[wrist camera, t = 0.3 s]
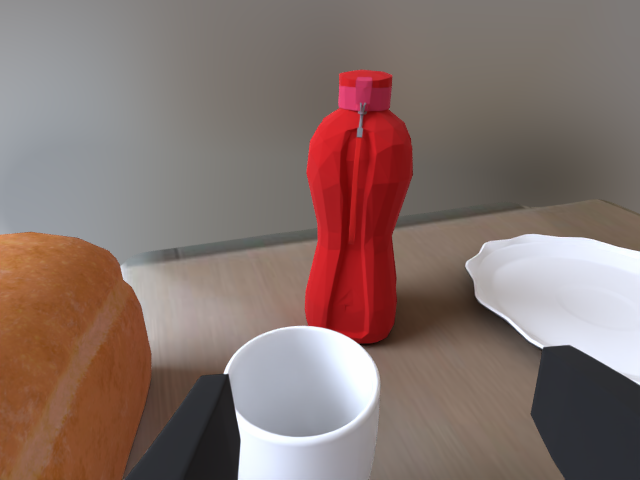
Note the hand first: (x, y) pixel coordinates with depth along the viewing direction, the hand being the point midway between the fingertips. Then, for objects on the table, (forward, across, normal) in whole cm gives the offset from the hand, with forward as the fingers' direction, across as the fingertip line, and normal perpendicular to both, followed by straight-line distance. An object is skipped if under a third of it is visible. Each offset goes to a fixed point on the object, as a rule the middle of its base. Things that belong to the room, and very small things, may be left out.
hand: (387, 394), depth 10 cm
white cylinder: (+7, +3, +20) cm, 22 cm away
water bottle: (+30, -2, +19) cm, 36 cm away
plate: (+32, -31, +21) cm, 49 cm away
